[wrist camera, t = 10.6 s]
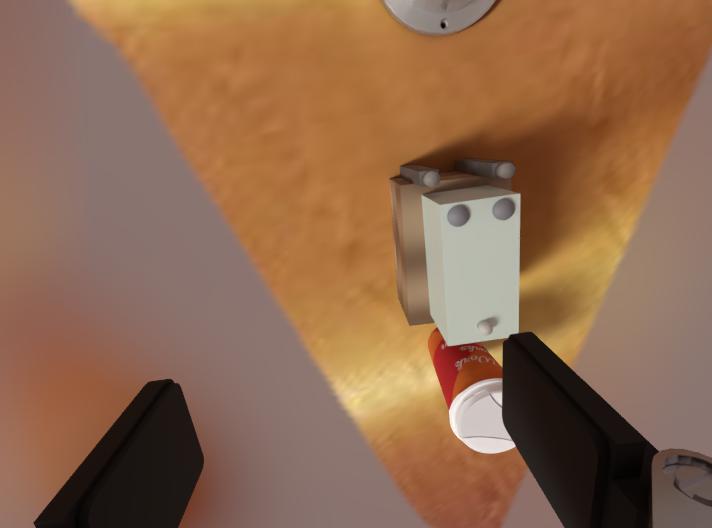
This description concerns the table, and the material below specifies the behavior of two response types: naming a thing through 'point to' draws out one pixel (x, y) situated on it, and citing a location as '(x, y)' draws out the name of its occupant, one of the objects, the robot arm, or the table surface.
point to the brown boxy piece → (412, 226)
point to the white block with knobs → (473, 262)
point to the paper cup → (471, 393)
